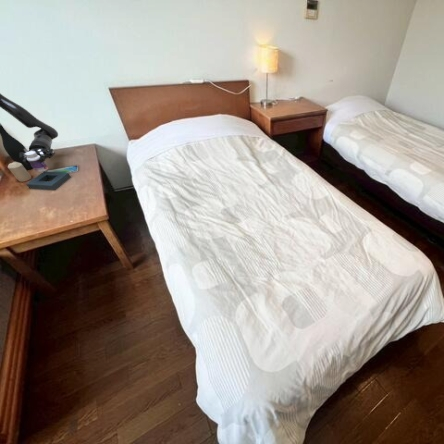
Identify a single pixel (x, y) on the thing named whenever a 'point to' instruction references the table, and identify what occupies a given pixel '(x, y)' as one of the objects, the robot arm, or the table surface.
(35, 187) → the socket pad
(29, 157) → the pill bottle
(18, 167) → the candle
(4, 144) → the wine bottle
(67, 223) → the table surface
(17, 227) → the table surface
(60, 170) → the smartphone
